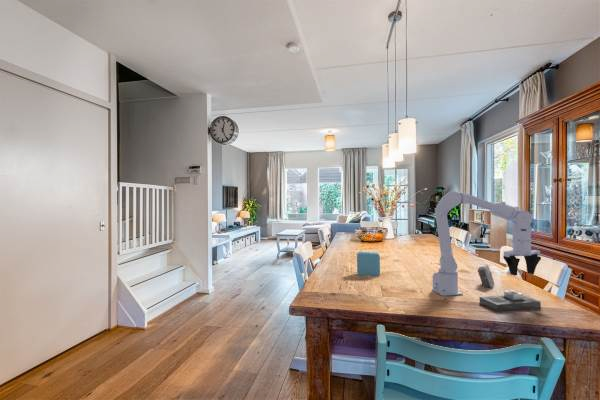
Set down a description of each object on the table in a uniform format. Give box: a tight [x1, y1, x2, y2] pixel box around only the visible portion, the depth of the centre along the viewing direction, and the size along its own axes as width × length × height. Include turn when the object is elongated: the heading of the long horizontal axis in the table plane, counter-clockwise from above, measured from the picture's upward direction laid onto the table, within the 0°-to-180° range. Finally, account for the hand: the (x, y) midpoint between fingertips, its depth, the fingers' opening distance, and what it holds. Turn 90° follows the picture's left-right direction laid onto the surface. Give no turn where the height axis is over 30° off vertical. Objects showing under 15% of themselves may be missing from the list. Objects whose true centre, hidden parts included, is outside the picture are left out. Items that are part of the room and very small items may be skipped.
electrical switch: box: [477, 263, 495, 289], centre depth 131 cm, size 9×5×9 cm, turn 141°
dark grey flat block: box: [479, 294, 542, 312], centre depth 105 cm, size 18×8×3 cm, turn 98°
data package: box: [356, 251, 381, 277], centre depth 152 cm, size 12×4×12 cm, turn 77°
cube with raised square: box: [503, 290, 523, 302], centre depth 105 cm, size 4×4×5 cm
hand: (522, 274), depth 110 cm, fingers open, 7 cm apart
